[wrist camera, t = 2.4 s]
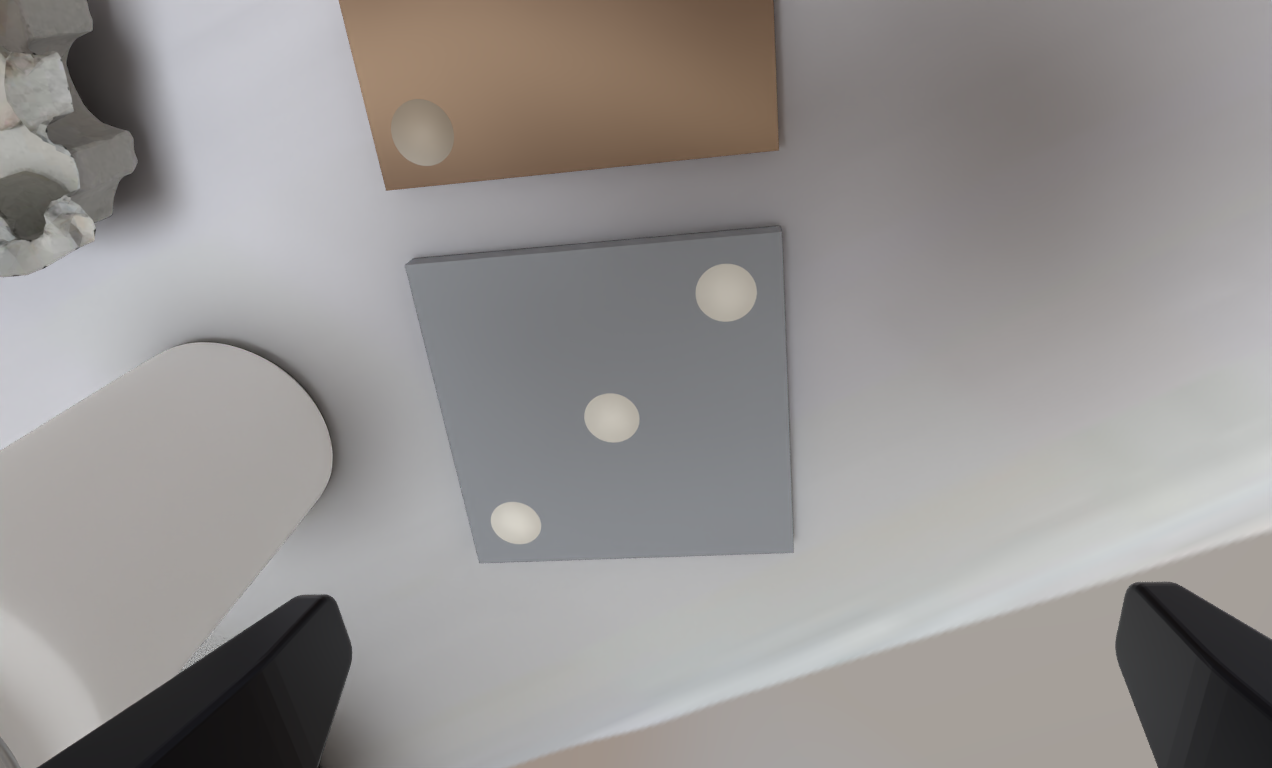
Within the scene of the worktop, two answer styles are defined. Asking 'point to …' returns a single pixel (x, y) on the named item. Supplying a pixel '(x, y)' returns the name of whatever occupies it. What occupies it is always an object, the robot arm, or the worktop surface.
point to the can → (142, 532)
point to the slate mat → (615, 395)
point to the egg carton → (50, 140)
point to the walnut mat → (560, 84)
